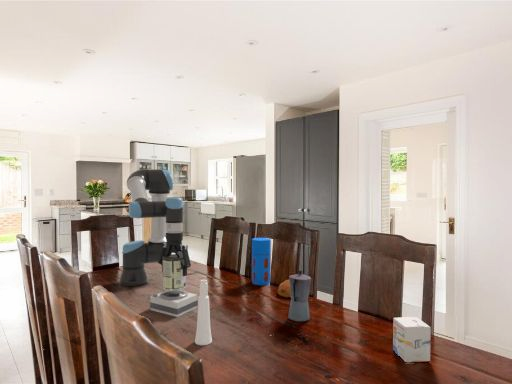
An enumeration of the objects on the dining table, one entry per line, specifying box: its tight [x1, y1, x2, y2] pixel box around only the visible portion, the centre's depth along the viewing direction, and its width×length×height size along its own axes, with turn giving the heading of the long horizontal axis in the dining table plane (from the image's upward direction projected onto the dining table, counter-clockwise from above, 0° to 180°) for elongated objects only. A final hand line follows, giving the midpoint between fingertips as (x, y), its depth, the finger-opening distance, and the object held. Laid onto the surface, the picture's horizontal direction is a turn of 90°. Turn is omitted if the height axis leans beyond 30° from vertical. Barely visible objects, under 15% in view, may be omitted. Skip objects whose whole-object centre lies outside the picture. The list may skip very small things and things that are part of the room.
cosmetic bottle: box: [194, 278, 213, 346], centre depth 122 cm, size 6×6×22 cm
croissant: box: [277, 279, 291, 299], centre depth 177 cm, size 14×16×8 cm
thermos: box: [251, 237, 272, 286], centre depth 197 cm, size 11×11×25 cm
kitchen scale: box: [149, 289, 198, 318], centre depth 155 cm, size 16×13×7 cm
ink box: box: [392, 316, 432, 362], centre depth 112 cm, size 9×8×12 cm
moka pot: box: [287, 270, 312, 322], centre depth 144 cm, size 10×15×20 cm, turn 161°
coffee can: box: [162, 253, 187, 291], centre depth 155 cm, size 10×10×14 cm
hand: (174, 281), depth 155 cm, fingers closed on coffee can, 10 cm apart
